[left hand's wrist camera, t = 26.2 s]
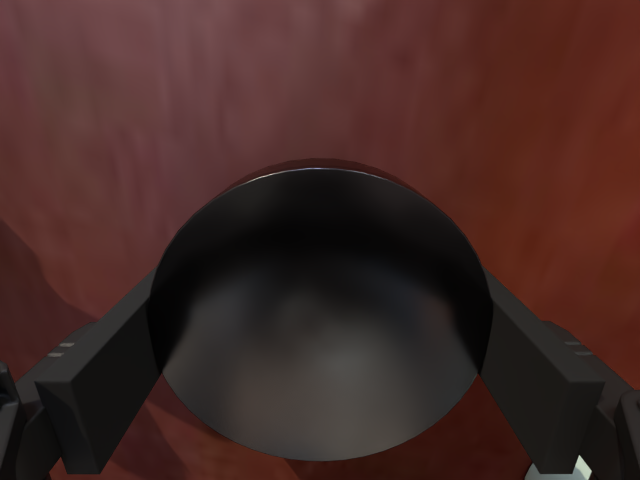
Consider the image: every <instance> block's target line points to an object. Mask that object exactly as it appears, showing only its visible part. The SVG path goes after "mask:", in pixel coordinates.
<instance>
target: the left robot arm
mask: <svg viewBox="0 0 640 480" xmlns="http://www.w3.org/2000/svg"><path fill="white" fill-rule="evenodd" d="M482 267H483V266H482ZM156 268H157V267H156ZM156 268H154V269H153V270H152V271H151V272H150V273H149V274H148V275H147V276H146V277H145V278H144V279H143V280H142V281H141V282H140V283H138V284H137V285H136V286H135V287H134V288H133V289H132V290H131V291H130V292H129V293H128V294H127V295H126V296H125V297H123V298H122V299H121V300H120V301H119V302H118V303H117V304H116V305H115V306H114V307H113V308H112V309H111V310H110V311H109V312H107V313H106V314H105V315H104V316H103V317H102V318H101V319H100V320H99V321H98V322H90V323H88V324H86V325H85V326H83V327H81V328H79V329H77V330H76V331H74V332H72V333H71V334H70V335H69V336H68V337H66V338H65V339H64V340H63V341H62V342H61V343H60V344H59V346H58V347H55V348H54V349H53V350H52V351H51V352H49V353H48V356H47V357H44V358H43V359H42V360H40V361H39V362H38V363H37V364H36V365H35V366H34V367H33V368H31V369H30V370H29V371H28V372H27V373H26V374H25V375H23V376H22V377H21V378H20V379H19V380H18V381H17V382H16V383H14V381H13V378H12V376H11V373H10V371H9V368H8V365H7V364H6V363H4V362H2V361H0V480H51V477H50V474H49V471H50V470H51V469H52V467H53V466H54V465H55V463H56V462H57V461H58V459H59V458H60V457H61V458H62V461H63V463H64V466H65V469H66V472H67V474H100V473H101V471H102V470H103V468H104V467H105V465H106V463H107V462H108V460H109V458H110V457H111V455H112V453H113V452H114V450H115V449H116V447H117V445H118V444H119V442H120V440H121V439H122V437H123V435H124V434H125V432H126V431H127V429H128V427H129V426H130V424H131V422H132V421H133V419H134V417H135V416H136V414H137V413H138V411H139V409H140V408H141V406H142V404H143V403H144V401H145V399H146V398H147V396H148V395H149V393H150V391H151V390H152V388H153V386H154V385H155V383H156V381H157V380H158V378H159V376H160V375H161V373H162V372H161V370H160V368H159V366H158V363H157V360H156V357H155V354H154V352H153V348H152V343H151V338H150V333H149V328H148V303H149V295H150V288H151V285H152V281H153V278H154V274H155V271H156ZM483 269H484V271H485V274H486V277H487V281H488V285H489V289H490V293H491V305H492V325H491V333H490V337H489V342H488V347H487V352H486V355H485V357H484V360H483V363H482V365H481V368H480V370H479V372H478V374H479V375H480V377H481V378H482V380H483V382H484V383H485V385H486V387H487V388H488V390H489V392H490V393H491V395H492V396H493V398H494V400H495V401H496V403H497V405H498V406H499V408H500V410H501V411H502V413H503V414H504V416H505V418H506V419H507V421H508V423H509V424H510V426H511V428H512V429H513V431H514V432H515V434H516V436H517V437H518V439H519V441H520V442H521V444H522V446H523V447H524V449H525V450H526V452H527V454H528V455H529V457H530V459H531V460H532V462H533V464H534V465H535V467H536V468H537V470H538V472H539V473H540V474H573V471H574V468H575V465H576V463H577V460H578V457H579V455H580V456H581V458H582V459H583V460H584V462H585V463H586V464H587V466H588V467H589V468H590V470H591V474H590V477H589V479H588V480H640V390H634V389H633V388H632V387H631V386H630V385H629V384H628V383H626V382H625V381H624V380H623V379H622V378H621V377H620V376H618V375H617V374H616V373H615V372H614V371H613V370H612V369H610V368H609V367H608V366H607V365H606V364H605V363H604V362H602V361H601V360H600V359H599V358H598V357H597V356H596V355H593V354H592V352H591V351H590V350H589V349H588V348H586V347H585V346H584V345H581V342H580V341H579V340H577V339H576V338H575V337H574V336H573V335H572V334H571V333H569V332H568V331H567V330H565V329H563V328H561V327H559V326H558V325H556V324H554V323H552V322H550V321H541V320H540V319H539V318H538V317H537V316H536V315H534V314H533V313H532V312H531V311H530V310H529V309H528V308H527V307H526V306H525V305H524V304H523V303H522V302H521V301H520V300H518V299H517V298H516V297H515V296H514V295H513V294H512V293H511V292H510V291H509V290H508V289H507V288H506V287H505V286H504V285H502V284H501V283H500V282H499V281H498V280H497V279H496V278H495V277H494V276H493V275H492V274H491V273H490V272H489V271H487V270H486V269H485V268H484V267H483Z"/></svg>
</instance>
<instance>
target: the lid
mask: <svg viewBox="0 0 640 480" xmlns="http://www.w3.org/2000/svg"><path fill="white" fill-rule="evenodd" d="M491 325H492V305H491V293H490V289H489V285H488V281H487V277H486V274H485V271H484V269H483V267H482V264H481V262H480V260H479V257H478V255H477V253H476V251H475V250H474V248H473V247H472V245H471V244H470V242H469V240H468V239H467V237H466V236H465V234H464V233H463V232H462V231H461V230H460V229H459V228H458V226H457V225H456V224H455V223H454V222H453V221H452V220H451V218H449V217H448V216H447V215H446V214H445V213H444V212H442V211H441V210H440V209H439V208H438V207H437V206H435V205H434V204H433V203H432V202H431V201H429V200H428V199H427V198H426V197H424V196H423V195H422V194H421V193H419V192H418V191H417V190H415V189H414V188H413V187H411V186H410V185H408V184H406V183H405V182H403V181H402V180H400V179H399V178H397V177H395V176H393V175H391V174H388V173H386V172H384V171H382V170H380V169H377V168H374V167H371V166H368V165H364V164H361V163H357V162H352V161H346V160H339V159H323V158H310V159H302V160H293V161H287V162H284V163H280V164H276V165H272V166H268V167H266V168H263V169H261V170H258V171H256V172H253V173H251V174H249V175H247V176H245V177H243V178H242V179H240V180H238V181H237V182H235V183H233V184H231V185H230V186H229V187H227V188H226V189H225V190H224V191H222V192H221V193H220V194H219V195H217V196H216V197H215V198H214V199H212V200H211V201H210V202H208V203H207V204H206V205H205V206H203V207H202V208H201V209H200V210H198V211H197V212H196V213H195V214H194V215H193V216H192V217H191V218H190V219H189V220H188V221H187V222H186V223H185V224H184V225H183V226H182V227H181V228H180V229H179V230H178V232H177V233H176V235H175V236H174V238H173V239H172V240H171V242H170V243H169V245H168V246H167V248H166V249H165V251H164V253H163V255H162V258H161V260H160V262H159V264H158V266H157V268H156V271H155V274H154V278H153V281H152V285H151V288H150V295H149V303H148V328H149V333H150V338H151V343H152V348H153V352H154V354H155V357H156V360H157V363H158V366H159V368H160V370H161V372H162V373H163V375H164V377H165V379H166V381H167V383H168V384H169V386H170V387H171V389H172V390H173V391H174V393H175V394H176V396H177V397H178V398H179V399H180V400H181V402H182V403H183V404H184V405H185V406H186V407H187V408H188V409H189V410H190V411H191V412H192V413H193V414H194V415H195V416H196V417H198V418H199V419H200V420H201V421H202V422H203V423H205V424H206V425H208V426H209V427H210V428H212V429H213V430H215V431H216V432H218V433H219V434H221V435H223V436H225V437H226V438H228V439H230V440H232V441H234V442H236V443H238V444H240V445H243V446H245V447H248V448H250V449H252V450H255V451H259V452H262V453H265V454H268V455H272V456H277V457H282V458H287V459H294V460H304V461H335V460H347V459H352V458H358V457H364V456H368V455H371V454H375V453H378V452H382V451H385V450H387V449H390V448H392V447H395V446H398V445H400V444H402V443H404V442H406V441H408V440H410V439H412V438H414V437H416V436H418V435H419V434H421V433H422V432H424V431H425V430H427V429H428V428H430V427H431V426H433V425H434V424H435V423H436V422H438V421H439V420H440V419H441V418H442V417H444V416H445V415H446V414H447V413H448V412H449V411H450V410H451V409H452V408H453V407H454V406H455V405H456V404H457V403H458V402H459V401H460V399H461V398H462V397H463V395H464V394H465V393H466V391H467V390H468V389H469V387H470V386H471V384H472V383H473V381H474V379H475V377H476V375H477V374H478V372H479V370H480V368H481V365H482V363H483V360H484V357H485V355H486V352H487V347H488V342H489V337H490V333H491Z"/></svg>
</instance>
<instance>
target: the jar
mask: <svg viewBox="0 0 640 480" xmlns="http://www.w3.org/2000/svg"><path fill="white" fill-rule="evenodd" d="M590 474H591V470H590V468H589V467H588V466H587V464H586V463H585V462H584V460H583V459H582V458H581V456H580V455H579V457H578V460H577V463H576V465H575V468H574V471H573V474H540V473H539V472H538V470H537V468H536V467H535V465H534V464H532V465H531V467H530V468H529V470H528V472H527V474H526V476H525V479H524V480H588V479H589V477H590Z"/></svg>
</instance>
